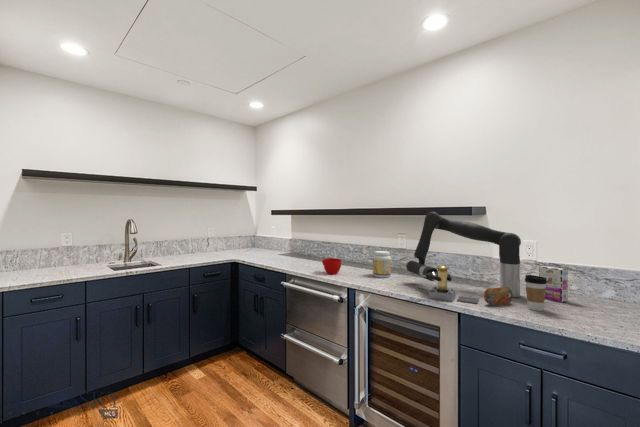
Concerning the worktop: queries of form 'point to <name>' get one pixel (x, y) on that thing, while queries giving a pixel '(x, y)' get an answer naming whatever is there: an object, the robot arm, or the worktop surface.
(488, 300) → the tin
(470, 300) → the pad
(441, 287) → the pin
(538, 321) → the worktop surface
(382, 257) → the supplement tub
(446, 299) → the housing
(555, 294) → the candy bar box
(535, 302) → the coffee cup
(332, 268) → the ceramic cup
